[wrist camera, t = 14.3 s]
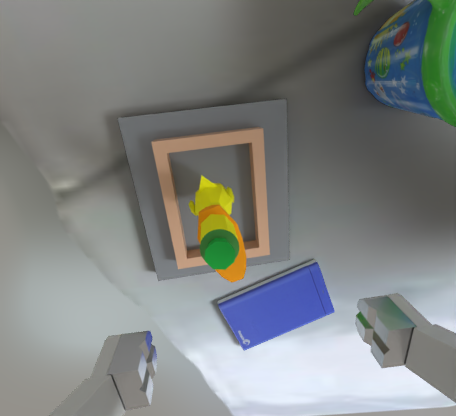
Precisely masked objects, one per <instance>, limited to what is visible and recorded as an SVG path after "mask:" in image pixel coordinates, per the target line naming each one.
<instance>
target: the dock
mask: <svg viewBox="0 0 456 416" xmlns="http://www.w3.org/2000/svg"><path fill="white" fill-rule="evenodd" d="M117 119H118V123H119V127H120V131H121V135H122V139H123V142H124V146H125V150H126V154H127V158H128V162H129V166H130V170H131V174H132V178H133V182H134V186H135V190H136V194H137V198H138V202H139V206H140V210H141V214H142V218H143V222H144V226H145V230H146V234H147V238H148V242H149V246H150V250H151V254H152V258H153V262H154V266H155V270H156V274H157V278H158V281H160V280H166V279H173V278H179V277H185V276H191V275H198V274H204V273H210V272H216V270H215V269H212V268H211V267H210V266H209V265H208V264H207V263H206V262H205V260H204V259H203V258H202V256H201V253H200V243H199V241H198V239H197V236H198V215H197V216H195V215H194V214H193V213H192V212H191V210H190V207H189V202H190V200H191V201H193V202H194V204H195V194H196V192H197V191H198V190H199V187H200V181H201V175H202V176H203V177H205V178H206V179H208V180H209V181H211V182H212V183H221V184H222V185H223V186H224V187H225V188H226V190H227V187H230V188H231V189H232V192H233V195H234V203H233V202H232V211H231V214H230V216H231V218H232V219H233V220H234V221H235V222H236V223H237V225H238V227H239V230H240V233H241V236H242V239H243V243H244V248H245V252H246V267H247V266H253V265H260V264H266V263H272V262H278V261H285V260H290V249H289V196H288V143H287V99H278V100H269V101H261V102H252V103H243V104H235V105H226V106H217V107H208V108H200V109H191V110H182V111H174V112H165V113H156V114H147V115H139V116H130V117H122V118H117Z"/></svg>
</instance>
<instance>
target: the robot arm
mask: <svg viewBox="0 0 456 416" xmlns="http://www.w3.org/2000/svg"><path fill="white" fill-rule="evenodd" d="M357 308H358V309H359V310H360V312H359V313H358V314H357V315H356V327H357V330H358V333H359V335H360V336H361V338H362V340H363V341H364V342H366V343H367V344H369V345H371V353H372V354H373V356H374V357H375V359H376V360H377V362H378V363H379V365H380V366H381V368H387V367H394V366H402V365H405V367H407V368H408V369H409V370H411V371H412V372H413V373H415V374H416V375H418V376H419V377H420V378H422V379H423V380H425V381H426V382H427V383H429V384H430V385H432V386H433V387H434V388H436V389H437V390H439V391H440V392H441V393H443V394H444V395H446V396H447V397H448V398H450V399H451V400H453V401H454V402H455V403H456V333H454V332H452V331H450V330H447V329H445V328H443V327H441V326H439V325H436V324H435V325H432V324H431V323H430V322H429V321H428V320H427V319H425V318H424V317H423V316H422V315H421V314H420V313H419V312H418V311H417V310H416V309H415V308H414V307H413V306H412V305H411V304H410V303H409V302H408V301H407V300H406V299H405V298H404V297H403V296H402V295H400V294H398V293H396V294H389V295H384V296H377V297H371V298H364V299H359V301H358V304H357ZM151 342H152V335H151V332H150V331H143V332H136V333H127V334H121V335H113V336H108V337H107V339H106V340H105V342H104V345H103V347H102V350H101V352H100V355H99V357H98V359H97V362H96V364H95V367H94V369H93V372H92V374H91V377H90V378H88V379H85V380H84V381H83V382H82V383H81V384H80V385H79V386H78V387H77V388H76V389H75V390H74V391H73V392H72V393H71V394H70V395H69V396H68V397H67V398H66V399H65V400H64V401H63V402H62V403H61V404H60V405H59V406H58V407H57V408H56V409H55V410H54V411H53V412H52V413H51V414H50V415H49V416H123V415H124V414H125V411H126V410H131V409H136V408H141V407H146V406H150V404H151V398H152V392H153V383H152V380H151V379H152V378H153V376H154V375H155V374H156V368H157V354H156V349H155V346H153V345H152V344H151Z"/></svg>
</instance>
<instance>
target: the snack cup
mask: <svg viewBox="0 0 456 416" xmlns="http://www.w3.org/2000/svg"><path fill="white" fill-rule="evenodd" d="M372 1H374V0H360V1H359V2H358V4H357V6H356V8H355V11H354V15H355V16H357V15H358V14H359V13H360V12H361V11H362V9H363V8H365V7H366V6H367V5H369V4H370V3H371V2H372ZM364 71H365V75H366V81H365V84H366V87H367V90H368V91H370V92H371V94H373V95H374V97H375V98H376V99H377V100H378V101H380V102H382V103H383V104H386V105H388V106H390V107H394V108H398V109H401V110H405V111H409V112H412V113H416V114H421V115H425V116H428V117H432V118H439V119H441V120H444V121H445V122H447V123H448V124H450V125H452V126H454V127H456V0H414V1H413V2H411V3H410V4H408V5H407V6H406V7H404V8H403V9H401V10H400V11H399V12H397V13H396V14H394V15H393V16H392V17H391V18H389V19H388V20H387V21H386V22H385V23H384V25H383V26H382V27H381V28H380V29H379V31H377V33H376V34H375V35H374V36H373V38H372V40H371V42H370V46H369V50H368V53H367V56H366V63H365V69H364Z"/></svg>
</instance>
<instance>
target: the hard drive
mask: <svg viewBox="0 0 456 416" xmlns="http://www.w3.org/2000/svg"><path fill="white" fill-rule="evenodd" d="M217 302H218V307H219V309H220V311H221V312H222V314H223V316H224V317H225V319H226V321H227V323H228V324H229V326H230V328H231V329H232V331H233V333H234V335H235V336H236V338H237V340H238V341H239V343H240V345H241V347H242V348H243V350H247V349H249V348H251V347H254V346H256V345H258V344H261V343H263V342H265V341H268V340H270V339H273V338H275V337H277V336H279V335H282V334H284V333H286V332H289V331H291V330H294V329H296V328H298V327H301V326H303V325H305V324H308V323H310V322H313V321H315V320H317V319H319V318H322V317H324V316H326V315H329V314H331V313H334V308H333V305H332V302H331V300H330V297H329V294H328V291H327V288H326V285H325V282H324V279H323V276H322V273H321V270H320V268H319V265H318V263H317V262H316V260H315V259H314V260H312V261H309V262H307V263H305V264H302V265H300V266H298V267H295V268H293V269H291V270H288V271H286V272H284V273H281V274H279V275H277V276H274V277H272V278H270V279H267V280H265V281H263V282H260V283H258V284H256V285H253V286H251V287H249V288H246V289H244V290H242V291H239V292H237V293H235V294H232V295H230V296H228V297H225V298H223V299H221V300H218V301H217Z"/></svg>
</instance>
